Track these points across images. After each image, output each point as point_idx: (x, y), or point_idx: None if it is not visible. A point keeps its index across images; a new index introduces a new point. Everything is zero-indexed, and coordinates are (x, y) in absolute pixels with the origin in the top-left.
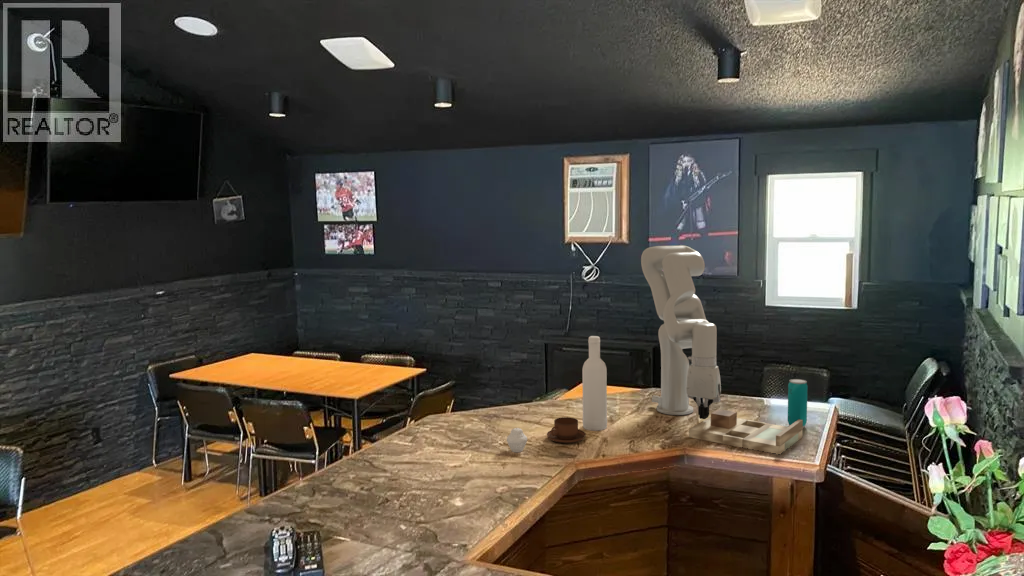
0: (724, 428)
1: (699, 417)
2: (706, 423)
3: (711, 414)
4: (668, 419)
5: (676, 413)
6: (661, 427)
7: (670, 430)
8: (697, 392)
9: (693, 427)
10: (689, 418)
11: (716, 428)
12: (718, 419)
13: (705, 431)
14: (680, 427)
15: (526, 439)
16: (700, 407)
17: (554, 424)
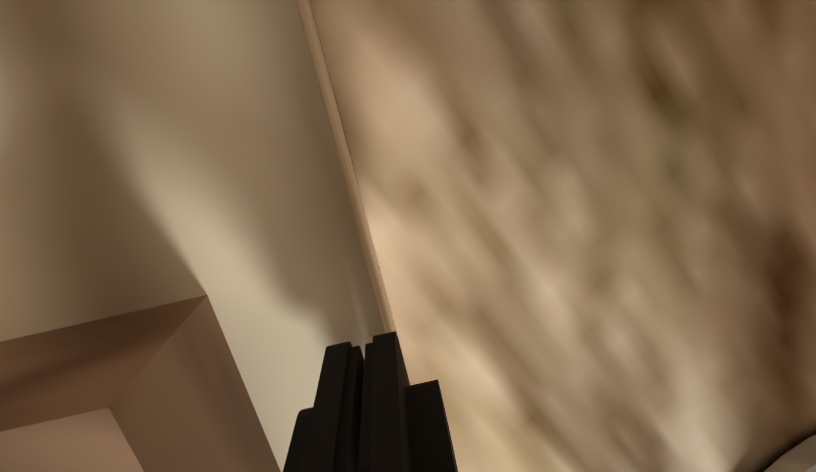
0: (20, 327)
1: (392, 336)
2: (306, 329)
3: (107, 396)
4: (805, 316)
5: (809, 456)
6: (748, 39)
7: (610, 23)
8: None
9: (283, 54)
10: (663, 460)
11: (73, 258)
12: (32, 381)
13: (30, 22)
14: (584, 201)
15: None
16: (373, 461)
17: None
